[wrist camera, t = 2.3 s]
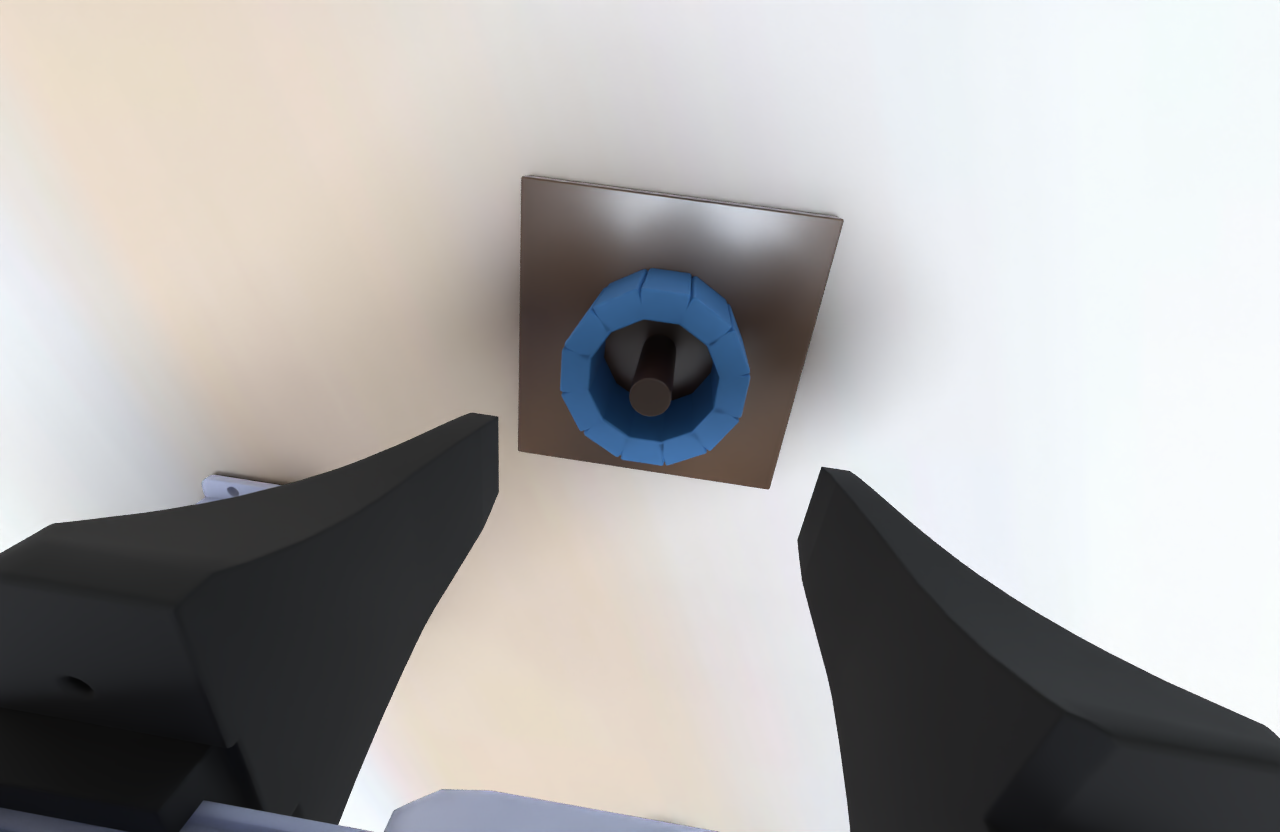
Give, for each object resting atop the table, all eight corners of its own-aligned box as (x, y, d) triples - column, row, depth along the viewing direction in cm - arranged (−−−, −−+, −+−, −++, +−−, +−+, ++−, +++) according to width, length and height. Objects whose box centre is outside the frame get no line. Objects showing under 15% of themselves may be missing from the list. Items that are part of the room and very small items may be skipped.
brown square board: (523, 441, 21) (480, 513, 17) (528, 175, 17) (470, 181, 13) (767, 479, 21) (784, 561, 17) (838, 216, 17) (887, 237, 12)
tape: (575, 410, 20) (556, 450, 17) (585, 258, 17) (565, 277, 14) (723, 432, 19) (727, 476, 17) (756, 281, 17) (767, 305, 14)
